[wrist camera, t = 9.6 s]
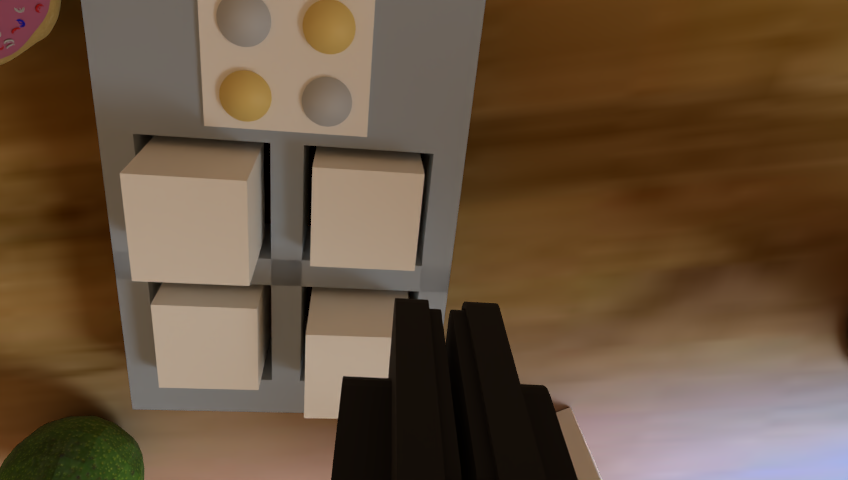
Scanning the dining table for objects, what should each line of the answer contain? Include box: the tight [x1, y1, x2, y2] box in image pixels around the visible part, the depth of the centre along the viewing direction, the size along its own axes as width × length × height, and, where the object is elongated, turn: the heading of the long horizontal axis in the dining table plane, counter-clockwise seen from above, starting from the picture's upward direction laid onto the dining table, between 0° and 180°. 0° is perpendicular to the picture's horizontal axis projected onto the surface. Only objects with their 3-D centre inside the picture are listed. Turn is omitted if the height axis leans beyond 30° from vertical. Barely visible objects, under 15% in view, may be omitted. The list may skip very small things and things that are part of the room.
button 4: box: [304, 287, 408, 419], centre depth 34 cm, size 5×5×5 cm
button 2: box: [151, 282, 271, 390], centre depth 35 cm, size 5×5×5 cm
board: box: [81, 0, 486, 413], centre depth 34 cm, size 16×23×4 cm
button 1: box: [120, 135, 265, 286], centre depth 30 cm, size 5×5×5 cm
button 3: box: [310, 146, 425, 271], centre depth 33 cm, size 5×5×5 cm
